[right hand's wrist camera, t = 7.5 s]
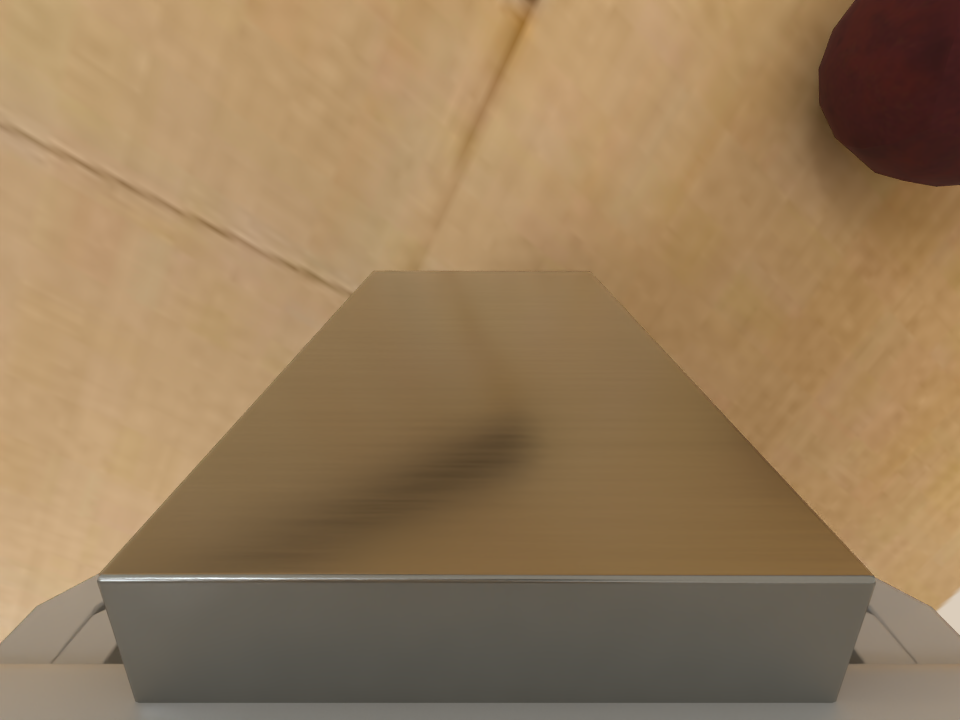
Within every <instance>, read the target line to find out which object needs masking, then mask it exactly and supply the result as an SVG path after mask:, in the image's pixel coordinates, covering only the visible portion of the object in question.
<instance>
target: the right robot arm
mask: <svg viewBox="0 0 960 720" xmlns="http://www.w3.org/2000/svg"><path fill="white" fill-rule="evenodd" d="M99 574H100V573H99ZM99 574H97V575H95V576H93V577H91V578H89V579H88V580H86V581H84V582H82V583H80V584H78V585H76V586H74V587H72V588H70V589H69V590H67V591H65V592H63V593H61V594H59V595H57V596H55V597H53V598H52V599H50V600H48V601H46V602H44V603H42V604H40V605H38V606H36V607H35V609H34V610H33V611H32V612H31V613H30V614H29V615H28V616H27V617H26V618H25V619H24V620H23V621H22V622H21V623H20V624H19V625H18V626H17V627H16V628H15V629H14V630H13V631H12V632H11V633H10V634H9V635H8V636H7V637H6V638H5V639H4V640H3V641H2V642H1V643H0V720H960V635H959V634H958V633H957V632H956V631H955V630H954V629H953V628H952V627H951V626H950V625H949V624H948V623H947V622H946V621H945V620H944V619H943V618H942V617H941V616H940V615H939V614H938V613H937V612H936V611H935V610H934V609H933V608H932V607H931V606H929V605H927V604H925V603H923V602H921V601H919V600H917V599H915V598H913V597H911V596H910V595H908V594H906V593H904V592H902V591H900V590H898V589H896V588H894V587H892V586H890V585H888V584H887V583H885V582H883V581H881V580H879V579H877V578H875V580H876V585H875V588H874V591H873V594H872V597H871V600H870V603H869V606H868V609H867V612H866V615H865V617H864V620H863V623H862V626H861V629H860V632H859V635H858V638H857V641H856V644H855V647H854V650H853V653H852V656H851V659H850V662H849V665H848V668H847V670H846V673H845V676H844V679H843V682H842V685H841V688H840V691H839V694H838V697H837V700H836V702H833V703H138V702H136V701H135V699H134V696H133V693H132V689H131V686H130V683H129V680H128V677H127V674H126V671H125V668H124V665H123V661H122V658H121V655H120V652H119V649H118V646H117V643H116V640H115V636H114V633H113V630H112V627H111V624H110V621H109V618H108V615H107V612H106V608H105V605H104V602H103V599H102V596H101V593H100V590H99V587H98V583H97V578H98V576H99Z"/></svg>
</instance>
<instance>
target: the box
mask: <svg viewBox="0 0 960 720" xmlns="http://www.w3.org/2000/svg"><path fill="white" fill-rule="evenodd" d="M97 583H98V587H99V590H100V593H101V596H102V599H103V602H104V605H105V608H106V612H107V615H108V618H109V621H110V624H111V627H112V630H113V633H114V636H115V640H116V643H117V646H118V649H119V652H120V655H121V658H122V661H123V665H124V668H125V671H126V674H127V677H128V680H129V683H130V686H131V689H132V693H133V696H134V699H135V701H136V702H138V703H833V702H836V700H837V697H838V694H839V691H840V688H841V685H842V682H843V679H844V676H845V673H846V670H847V668H848V665H849V662H850V659H851V656H852V653H853V650H854V647H855V644H856V641H857V638H858V635H859V632H860V629H861V626H862V623H863V620H864V617H865V615H866V612H867V609H868V606H869V603H870V600H871V597H872V594H873V591H874V588H875V585H876V580H875V577H874V575H873V574H872V573H871V572H870V571H869V570H868V569H867V568H866V567H865V566H864V565H863V563H862V562H861V561H860V560H859V559H858V558H857V557H856V556H855V555H854V554H853V553H852V552H851V551H850V550H849V548H848V547H847V546H846V545H845V544H844V543H843V542H842V541H841V540H840V539H839V538H838V537H837V536H836V535H835V533H834V532H833V531H832V530H831V529H830V528H829V527H828V526H827V525H826V524H825V523H824V522H823V521H822V519H821V518H820V517H819V516H818V515H817V514H816V513H815V512H814V511H813V510H812V509H811V508H810V507H809V506H808V504H807V503H806V502H805V501H804V500H803V499H802V498H801V497H800V496H799V495H798V494H797V493H796V492H795V491H794V489H793V488H792V487H791V486H790V485H789V484H788V483H787V482H786V481H785V480H784V479H783V478H782V477H781V476H780V474H779V473H778V472H777V471H776V470H775V469H774V468H773V467H772V466H771V465H770V464H769V463H768V462H767V460H766V459H765V458H764V457H763V456H762V455H761V454H760V453H759V452H758V451H757V450H756V449H755V448H754V447H753V445H752V444H751V443H750V442H749V441H748V440H747V439H746V438H745V437H744V436H743V435H742V434H741V433H740V432H739V430H738V429H737V428H736V427H735V426H734V425H733V424H732V423H731V422H730V421H729V420H728V419H727V418H726V417H725V415H724V414H723V413H722V412H721V411H720V410H719V409H718V408H717V407H716V406H715V405H714V404H713V403H712V401H711V400H710V399H709V398H708V397H707V396H706V395H705V394H704V393H703V392H702V391H701V390H700V389H699V388H698V386H697V385H696V384H695V383H694V382H693V381H692V380H691V379H690V378H689V377H688V376H687V375H686V374H685V373H684V371H683V370H682V369H681V368H680V367H679V366H678V365H677V364H676V363H675V362H674V361H673V360H672V359H671V357H670V356H669V355H668V354H667V353H666V352H665V351H664V350H663V349H662V348H661V347H660V346H659V345H658V344H657V342H656V341H655V340H654V339H653V338H652V337H651V336H650V335H649V334H648V333H647V332H646V331H645V330H644V329H643V327H642V326H641V325H640V324H639V323H638V322H637V321H636V320H635V319H634V318H633V317H632V316H631V315H630V314H629V312H628V311H627V310H626V309H625V308H624V307H623V306H622V305H621V304H620V303H619V302H618V301H617V300H616V298H615V297H614V296H613V295H612V294H611V293H610V292H609V291H608V290H607V289H606V288H605V287H604V286H603V285H602V283H601V282H600V281H599V280H598V279H597V278H596V277H595V276H594V275H593V274H592V273H591V272H590V271H373V272H372V273H371V274H370V275H369V276H368V277H367V278H366V280H365V281H364V282H363V283H362V284H361V285H360V286H359V287H358V288H357V289H356V291H355V292H354V293H353V294H352V295H351V296H350V297H349V298H348V299H347V301H346V302H345V303H344V304H343V305H342V306H341V307H340V308H339V309H338V310H337V312H336V313H335V314H334V315H333V316H332V317H331V318H330V319H329V320H328V322H327V323H326V324H325V325H324V326H323V327H322V328H321V329H320V330H319V331H318V333H317V334H316V335H315V336H314V337H313V338H312V339H311V340H310V341H309V343H308V344H307V345H306V346H305V347H304V348H303V349H302V350H301V351H300V352H299V354H298V355H297V356H296V357H295V358H294V359H293V360H292V361H291V362H290V364H289V365H288V366H287V367H286V368H285V369H284V370H283V371H282V372H281V373H280V375H279V376H278V377H277V378H276V379H275V380H274V381H273V382H272V383H271V385H270V386H269V387H268V388H267V389H266V390H265V391H264V392H263V393H262V394H261V396H260V397H259V398H258V399H257V400H256V401H255V402H254V403H253V404H252V406H251V407H250V408H249V409H248V410H247V411H246V412H245V413H244V414H243V415H242V417H241V418H240V419H239V420H238V421H237V422H236V423H235V424H234V425H233V427H232V428H231V429H230V430H229V431H228V432H227V433H226V434H225V435H224V436H223V438H222V439H221V440H220V441H219V442H218V443H217V444H216V445H215V446H214V448H213V449H212V450H211V451H210V452H209V453H208V454H207V455H206V456H205V457H204V459H203V460H202V461H201V462H200V463H199V464H198V465H197V466H196V467H195V469H194V470H193V471H192V472H191V473H190V474H189V475H188V476H187V477H186V478H185V480H184V481H183V482H182V483H181V484H180V485H179V486H178V487H177V488H176V490H175V491H174V492H173V493H172V494H171V495H170V496H169V497H168V498H167V499H166V501H165V502H164V503H163V504H162V505H161V506H160V507H159V508H158V509H157V511H156V512H155V513H154V514H153V515H152V516H151V517H150V518H149V519H148V520H147V522H146V523H145V524H144V525H143V526H142V527H141V528H140V529H139V530H138V532H137V533H136V534H135V535H134V536H133V537H132V538H131V539H130V540H129V541H128V543H127V544H126V545H125V546H124V547H123V548H122V549H121V550H120V551H119V553H118V554H117V555H116V556H115V557H114V558H113V559H112V560H111V561H110V562H109V564H108V565H107V566H106V567H105V568H104V569H103V570H102V571H101V572H100V574H99V576H98V578H97Z"/></svg>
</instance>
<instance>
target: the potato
mask: <svg viewBox="0 0 960 720" xmlns="http://www.w3.org/2000/svg"><path fill="white" fill-rule="evenodd" d="M819 103H820V107H821V109H822V111H823V113H824V115H825V117H826V119H827V121H828V124H829V126H830V128H831V130H832V132H833V134H834V136H835V138H836V139H837V140H839V141H840V142H841V143H842V144H843V145H844V146H845V147H847V148H848V149H849V150H850V151H851V152H852V153H854V154H855V155H856V156H857V157H858V158H859V159H860V160H861V161H862V162H864V163H865V164H866V165H867V166H868V167H869V168H870V169H871V170H873V171H874V172H875V173H878V174H882V175H885V176H889V177H892V178H896V179H900V180H903V181H908V182H913V183H919V184H925V185H930V186H936V187H937V186H950V185H960V0H855V1H854V2H853V4H852V5H851V6H850V8H849V9H848V10H847V12H846V13H845V14H844V16H843V17H842V18H841V20H840V21H839V22H838V24H837V25H836V26H835V28H834V29H833V31H832V34H831V36H830V39H829V42H828V45H827V48H826V51H825V53H824V56H823V59H822V61H821V64H820V67H819Z"/></svg>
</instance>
